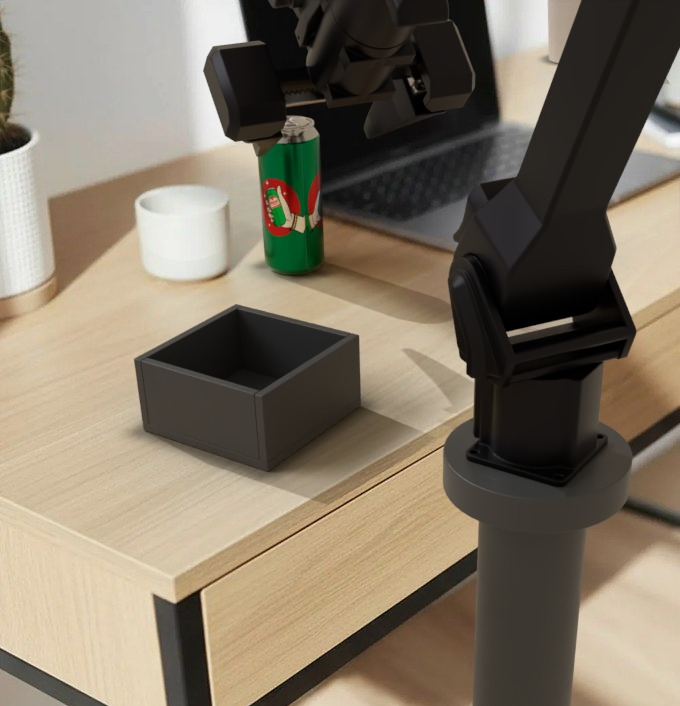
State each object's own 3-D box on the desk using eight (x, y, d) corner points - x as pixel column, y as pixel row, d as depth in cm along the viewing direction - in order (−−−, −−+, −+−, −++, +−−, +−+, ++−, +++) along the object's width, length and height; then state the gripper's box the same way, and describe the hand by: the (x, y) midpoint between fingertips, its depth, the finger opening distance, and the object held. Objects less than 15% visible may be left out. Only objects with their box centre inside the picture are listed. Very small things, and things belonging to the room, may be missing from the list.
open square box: (361, 405, 80) (359, 334, 77) (267, 472, 73) (262, 396, 70) (241, 371, 85) (235, 303, 82) (143, 430, 78) (133, 358, 75)
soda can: (309, 251, 105) (302, 111, 98) (334, 270, 101) (329, 124, 94) (256, 262, 103) (245, 119, 96) (279, 281, 99) (270, 134, 93)
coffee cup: (622, 57, 165) (633, -63, 157) (579, 70, 159) (588, -54, 151) (566, 48, 171) (574, -68, 163) (523, 60, 165) (529, -60, 157)
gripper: (459, -108, 81) (389, 36, 96) (198, -86, 75) (165, 64, 90) (515, 35, 80) (434, 159, 94) (252, 70, 73) (209, 197, 88)
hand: (313, 141), depth 91 cm, fingers open, 9 cm apart
